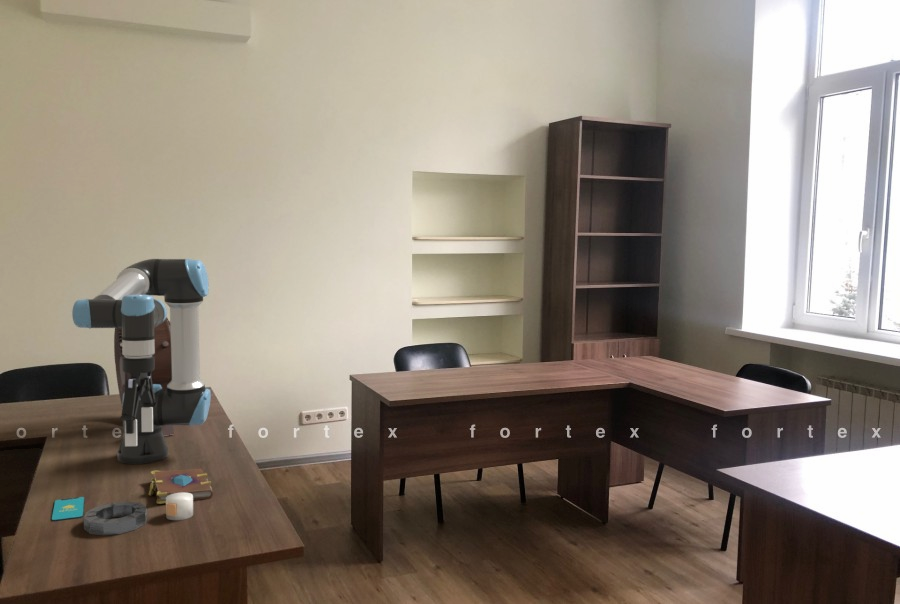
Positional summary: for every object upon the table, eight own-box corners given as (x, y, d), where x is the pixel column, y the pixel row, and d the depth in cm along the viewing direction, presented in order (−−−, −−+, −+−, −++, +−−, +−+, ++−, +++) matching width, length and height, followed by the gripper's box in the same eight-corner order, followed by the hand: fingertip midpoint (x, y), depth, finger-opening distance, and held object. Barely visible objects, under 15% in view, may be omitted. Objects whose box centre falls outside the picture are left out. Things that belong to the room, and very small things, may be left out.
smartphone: (51, 519, 182) (54, 499, 195) (51, 523, 182) (54, 502, 195) (83, 516, 185) (84, 496, 198) (83, 519, 185) (84, 499, 198)
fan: (186, 437, 258) (185, 316, 254) (132, 444, 248) (130, 318, 244) (161, 412, 292) (159, 305, 288) (112, 418, 282) (110, 307, 278)
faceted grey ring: (110, 510, 190) (110, 499, 189) (157, 516, 187) (157, 504, 187) (71, 531, 176) (71, 519, 176) (122, 537, 173) (122, 525, 173)
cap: (177, 508, 192) (176, 490, 192) (199, 511, 191) (199, 493, 190) (159, 519, 185) (159, 500, 184) (182, 522, 183) (182, 503, 183)
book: (201, 475, 222) (202, 459, 222) (213, 502, 200) (214, 485, 200) (144, 479, 215) (144, 463, 215) (150, 508, 193) (151, 489, 193)
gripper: (138, 348, 194) (139, 426, 196) (105, 364, 170) (107, 452, 171) (167, 348, 195) (167, 426, 197) (139, 364, 171) (140, 452, 172)
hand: (139, 438), depth 184 cm, fingers open, 13 cm apart
